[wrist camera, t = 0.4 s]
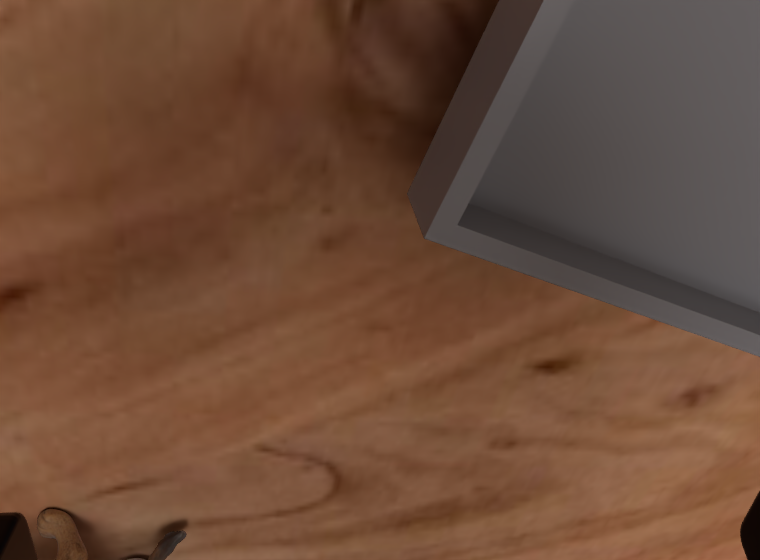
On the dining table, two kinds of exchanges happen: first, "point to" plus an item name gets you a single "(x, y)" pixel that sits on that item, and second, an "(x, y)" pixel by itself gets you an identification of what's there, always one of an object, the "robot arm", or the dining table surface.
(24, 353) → the dining table surface
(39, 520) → the lion figurine
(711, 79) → the grey footed tray
